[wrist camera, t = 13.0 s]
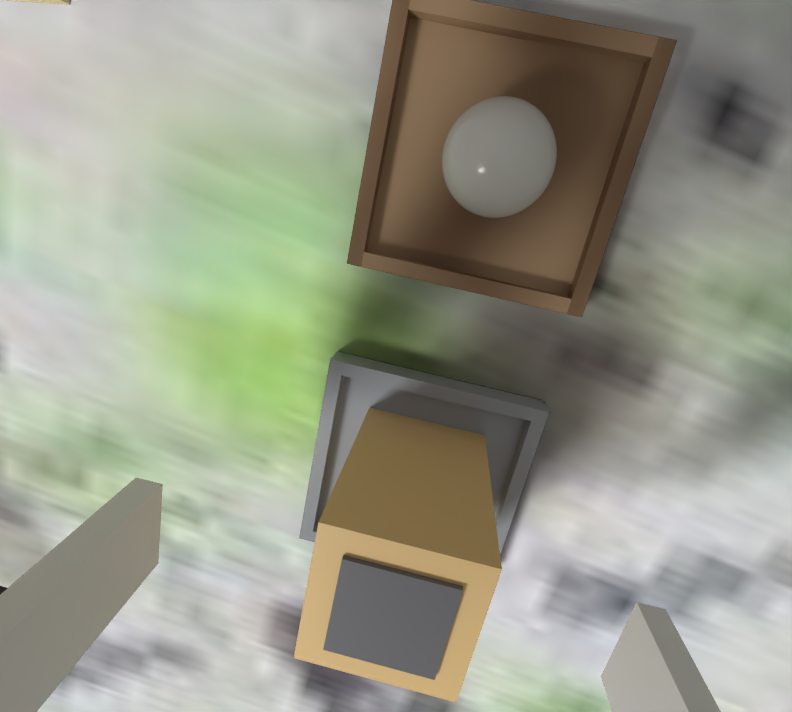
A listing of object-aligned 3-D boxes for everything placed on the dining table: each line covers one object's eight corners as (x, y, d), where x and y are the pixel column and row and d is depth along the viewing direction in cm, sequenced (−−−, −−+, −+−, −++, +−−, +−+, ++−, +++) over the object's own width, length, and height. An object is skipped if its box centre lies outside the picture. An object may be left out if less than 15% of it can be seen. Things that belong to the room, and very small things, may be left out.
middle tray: (352, 260, 17) (346, 263, 16) (398, 0, 14) (394, -15, 13) (574, 311, 16) (581, 317, 15) (661, 52, 14) (676, 40, 13)
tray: (306, 522, 20) (299, 537, 19) (336, 351, 18) (330, 359, 17) (487, 570, 20) (489, 588, 19) (544, 401, 17) (549, 412, 17)
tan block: (348, 508, 19) (291, 667, 13) (369, 407, 18) (316, 526, 11) (455, 534, 19) (454, 711, 12) (484, 435, 18) (502, 573, 11)
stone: (433, 205, 16) (427, 204, 13) (456, 99, 15) (457, 70, 12) (528, 226, 15) (546, 230, 12) (558, 121, 14) (586, 96, 11)
